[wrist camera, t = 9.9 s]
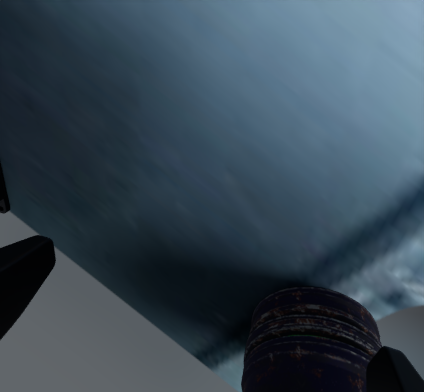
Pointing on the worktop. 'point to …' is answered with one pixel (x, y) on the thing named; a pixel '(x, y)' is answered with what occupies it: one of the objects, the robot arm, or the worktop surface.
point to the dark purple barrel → (309, 343)
